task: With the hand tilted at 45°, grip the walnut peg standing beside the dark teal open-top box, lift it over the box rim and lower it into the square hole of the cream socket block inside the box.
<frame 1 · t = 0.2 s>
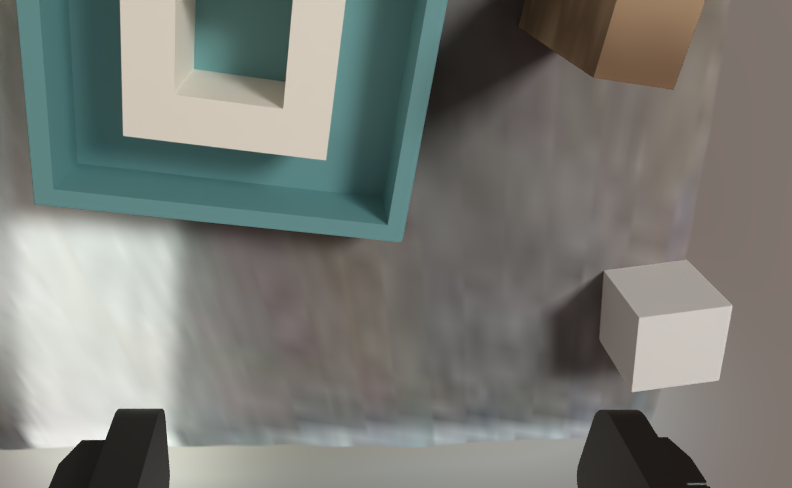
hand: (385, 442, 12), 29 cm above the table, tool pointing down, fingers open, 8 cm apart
light grey cube: (640, 298, 48), on the table
socket box: (245, 26, 36), on the table
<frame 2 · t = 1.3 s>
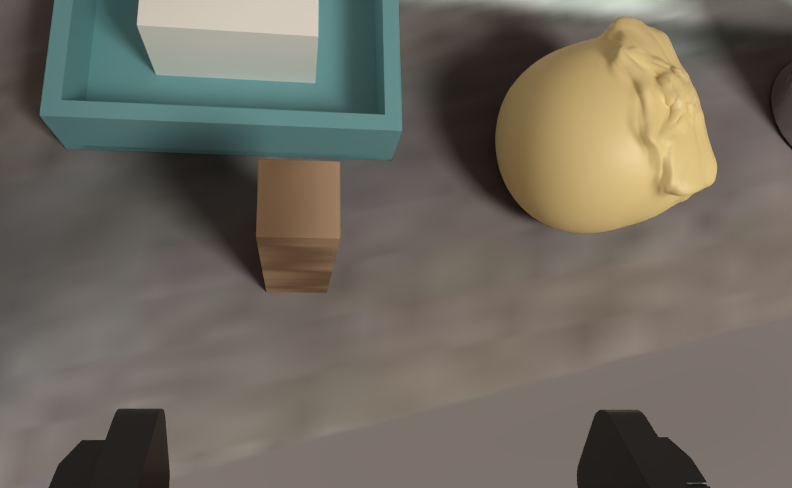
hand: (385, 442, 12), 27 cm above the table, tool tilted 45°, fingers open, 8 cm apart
peg: (297, 263, 40), on the table
socket box: (240, 16, 44), on the table
sculpture: (564, 168, 45), on the table
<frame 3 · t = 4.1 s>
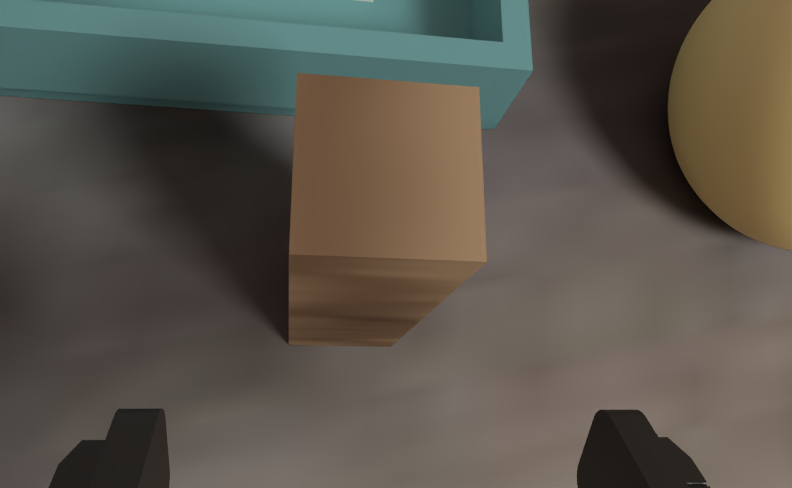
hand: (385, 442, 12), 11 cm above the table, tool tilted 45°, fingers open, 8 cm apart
peg: (341, 295, 24), on the table
sculpture: (758, 150, 29), on the table
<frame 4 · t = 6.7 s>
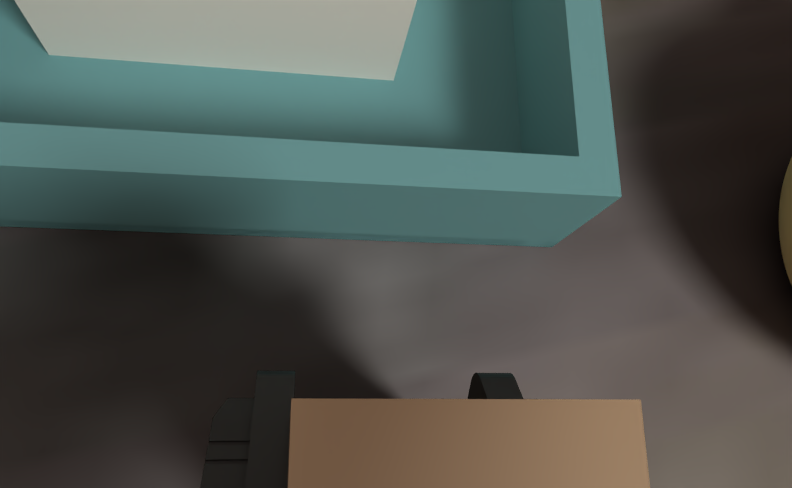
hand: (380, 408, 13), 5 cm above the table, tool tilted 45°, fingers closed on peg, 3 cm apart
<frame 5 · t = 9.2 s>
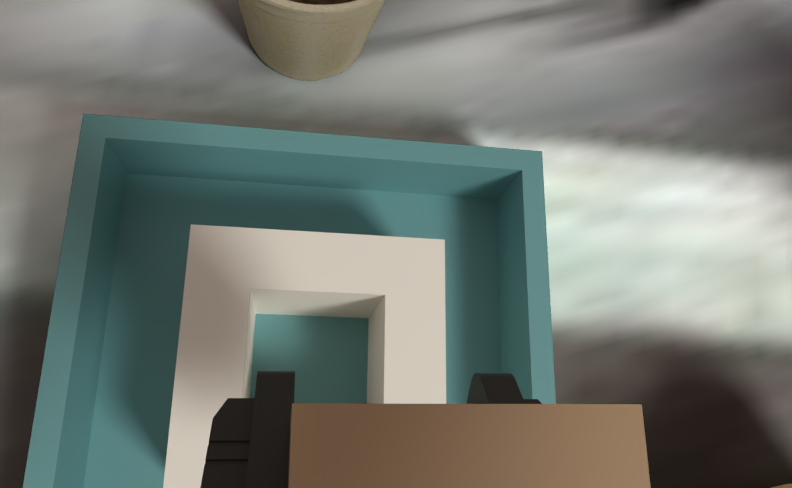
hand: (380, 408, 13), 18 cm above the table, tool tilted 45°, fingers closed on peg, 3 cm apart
flower pot: (307, 35, 36), on the table
socket box: (309, 374, 30), on the table
when the fingers open (9 cm above the table, at t = 12.0 s): peg drops 3 cm, resting on socket box.
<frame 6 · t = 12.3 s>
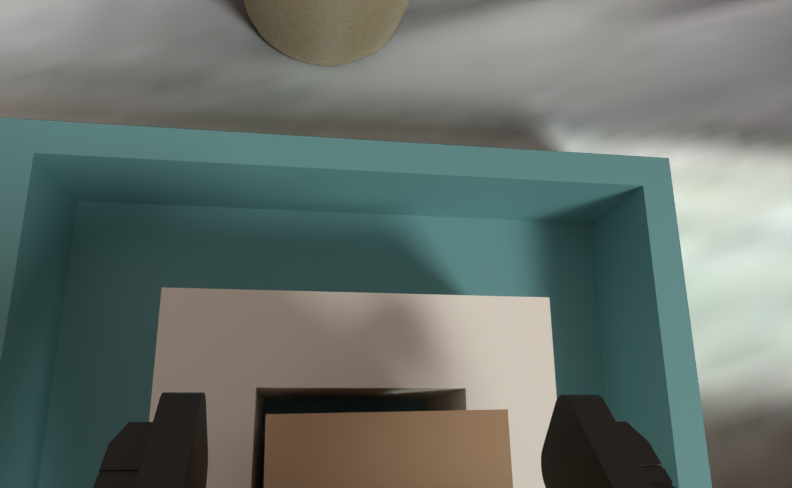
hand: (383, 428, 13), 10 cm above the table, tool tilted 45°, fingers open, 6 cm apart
peg: (341, 484, 21), point 1 cm above the table, touching socket box
flower pot: (324, 5, 26), on the table
socket box: (342, 483, 21), on the table
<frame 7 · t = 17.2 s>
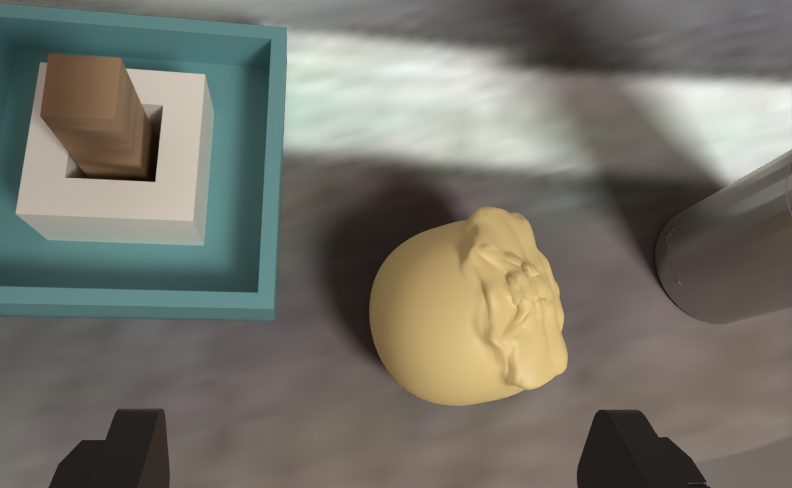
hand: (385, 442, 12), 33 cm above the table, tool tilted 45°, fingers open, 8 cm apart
peg: (133, 173, 46), point 1 cm above the table, touching socket box
socket box: (136, 176, 46), on the table
sculpture: (446, 324, 47), on the table
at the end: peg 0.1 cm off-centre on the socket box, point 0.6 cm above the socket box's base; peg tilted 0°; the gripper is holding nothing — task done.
